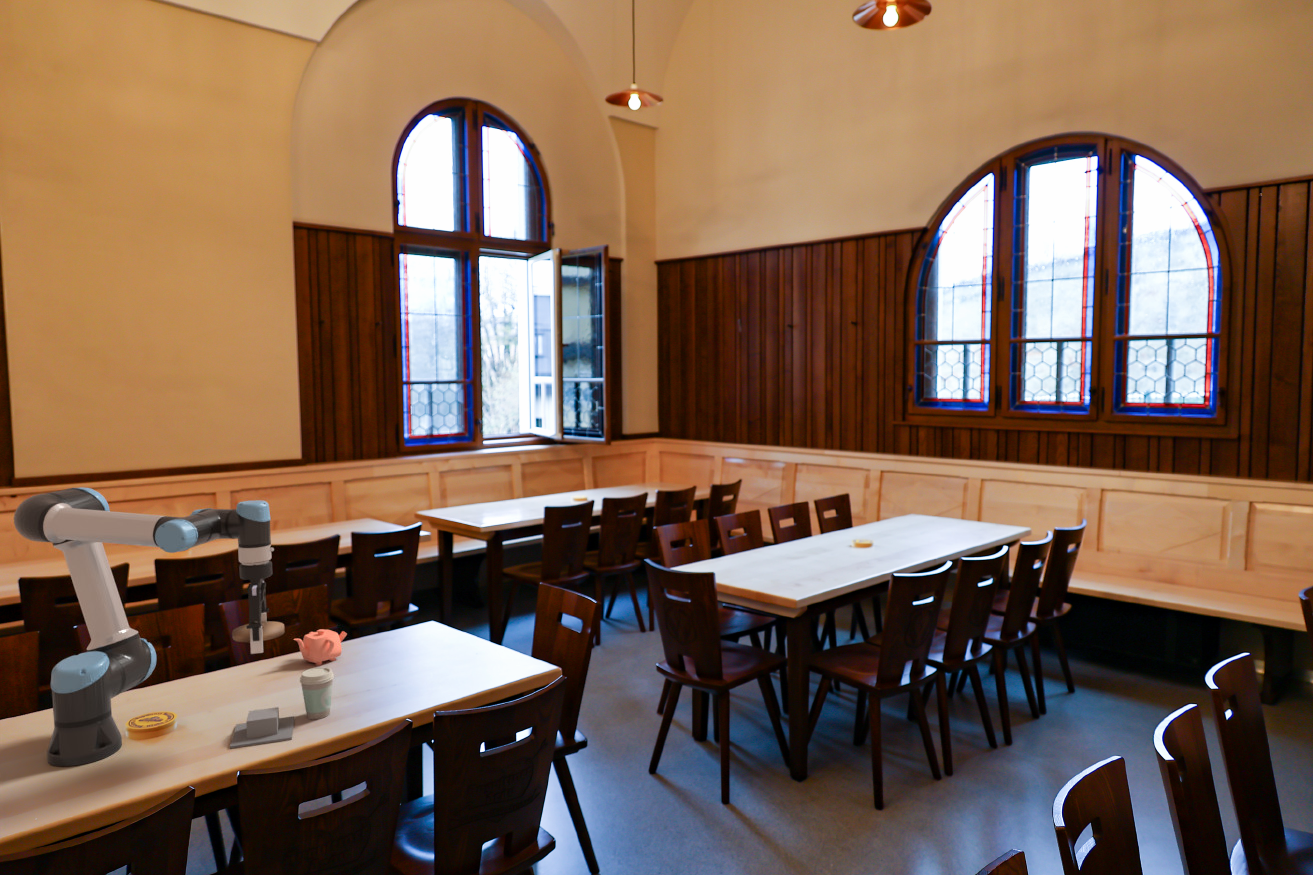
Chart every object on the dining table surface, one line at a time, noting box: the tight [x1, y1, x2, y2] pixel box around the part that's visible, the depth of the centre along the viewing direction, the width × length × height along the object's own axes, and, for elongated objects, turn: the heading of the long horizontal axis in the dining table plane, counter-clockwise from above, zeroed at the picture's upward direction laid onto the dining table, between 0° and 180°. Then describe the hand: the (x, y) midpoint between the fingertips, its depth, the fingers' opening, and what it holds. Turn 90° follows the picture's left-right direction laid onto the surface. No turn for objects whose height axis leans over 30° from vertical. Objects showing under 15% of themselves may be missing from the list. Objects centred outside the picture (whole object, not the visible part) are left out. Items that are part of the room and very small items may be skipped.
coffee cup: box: [299, 666, 335, 720], centre depth 226 cm, size 9×8×12 cm
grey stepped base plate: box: [229, 706, 295, 750], centre depth 215 cm, size 14×14×5 cm
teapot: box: [293, 629, 348, 666], centre depth 269 cm, size 14×12×10 cm
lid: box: [231, 620, 285, 643], centre depth 213 cm, size 12×12×3 cm
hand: (259, 645), depth 213 cm, fingers closed on lid, 12 cm apart
